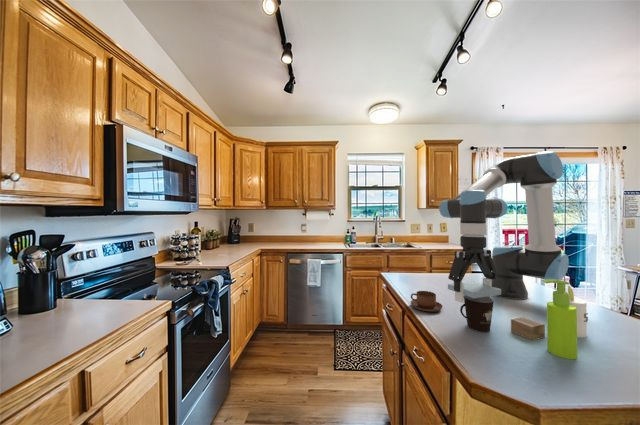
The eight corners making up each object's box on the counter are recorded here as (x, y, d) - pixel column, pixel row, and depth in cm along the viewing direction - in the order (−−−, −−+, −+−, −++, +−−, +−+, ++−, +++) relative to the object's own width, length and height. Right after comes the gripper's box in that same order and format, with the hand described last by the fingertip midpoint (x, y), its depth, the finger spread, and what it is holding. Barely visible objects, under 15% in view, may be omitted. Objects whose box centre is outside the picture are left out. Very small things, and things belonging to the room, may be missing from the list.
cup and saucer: (411, 312, 97) (411, 296, 97) (410, 302, 108) (409, 288, 108) (444, 316, 93) (444, 299, 93) (440, 305, 104) (439, 290, 104)
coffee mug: (484, 322, 87) (484, 294, 87) (500, 334, 78) (499, 303, 78) (450, 321, 88) (450, 293, 88) (461, 332, 79) (461, 301, 79)
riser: (523, 328, 82) (523, 316, 82) (544, 337, 76) (544, 324, 76) (511, 331, 80) (511, 319, 80) (531, 340, 75) (531, 327, 75)
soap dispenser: (538, 345, 72) (538, 276, 72) (569, 349, 69) (568, 278, 69) (549, 355, 66) (548, 281, 66) (582, 361, 64) (581, 284, 64)
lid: (473, 286, 90) (473, 281, 90) (501, 294, 80) (501, 289, 80) (447, 289, 86) (447, 283, 86) (473, 298, 77) (473, 292, 77)
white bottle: (581, 339, 75) (581, 290, 75) (554, 330, 81) (554, 284, 81) (592, 335, 77) (591, 288, 78) (565, 326, 83) (564, 282, 84)
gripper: (488, 233, 91) (488, 292, 91) (436, 235, 83) (436, 299, 83) (509, 235, 84) (510, 298, 83) (454, 237, 76) (455, 307, 76)
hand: (473, 299), depth 83 cm, fingers closed on lid, 12 cm apart
